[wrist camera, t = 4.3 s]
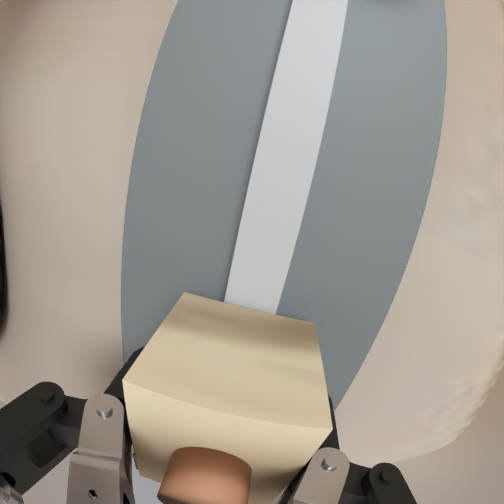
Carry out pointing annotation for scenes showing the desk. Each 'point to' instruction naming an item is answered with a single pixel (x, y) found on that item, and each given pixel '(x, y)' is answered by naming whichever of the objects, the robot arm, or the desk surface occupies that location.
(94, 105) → the desk surface
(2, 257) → the cable lock
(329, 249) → the rail board
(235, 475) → the keeper
